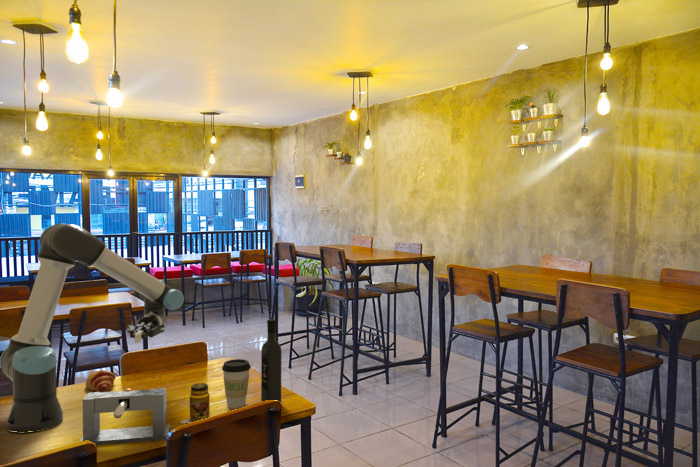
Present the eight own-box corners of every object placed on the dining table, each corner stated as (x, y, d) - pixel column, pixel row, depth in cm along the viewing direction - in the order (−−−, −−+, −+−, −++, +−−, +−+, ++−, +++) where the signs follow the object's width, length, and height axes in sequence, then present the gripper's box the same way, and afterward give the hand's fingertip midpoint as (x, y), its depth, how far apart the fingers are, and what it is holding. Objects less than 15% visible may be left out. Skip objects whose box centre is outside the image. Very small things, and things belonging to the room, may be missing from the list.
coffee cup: (215, 407, 175) (215, 364, 175) (234, 398, 184) (234, 357, 184) (238, 412, 171) (238, 368, 170) (256, 403, 180) (256, 361, 179)
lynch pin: (107, 424, 140) (107, 405, 140) (119, 405, 154) (119, 388, 154) (127, 422, 141) (127, 404, 141) (137, 404, 155) (137, 387, 155)
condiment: (199, 428, 158) (199, 390, 158) (179, 422, 162) (179, 385, 162) (215, 420, 164) (215, 383, 164) (196, 415, 168) (196, 379, 168)
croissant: (88, 389, 202) (77, 373, 200) (111, 373, 208) (101, 357, 205) (97, 404, 185) (86, 387, 183) (123, 386, 190) (112, 369, 188)
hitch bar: (78, 446, 145) (77, 401, 144) (86, 435, 152) (85, 391, 152) (166, 439, 150) (166, 395, 149) (170, 428, 158) (170, 386, 157)
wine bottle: (268, 408, 174) (268, 322, 173) (260, 404, 178) (260, 319, 177) (282, 405, 178) (282, 320, 177) (273, 400, 182) (274, 317, 181)
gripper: (131, 314, 189) (116, 327, 166) (168, 314, 192) (158, 327, 169) (131, 334, 189) (115, 350, 166) (167, 334, 192) (157, 349, 169)
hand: (137, 338), depth 168 cm, fingers closed
